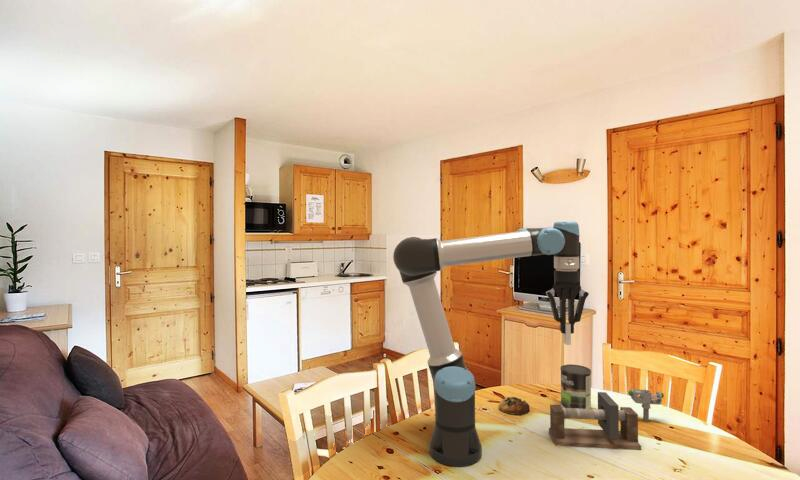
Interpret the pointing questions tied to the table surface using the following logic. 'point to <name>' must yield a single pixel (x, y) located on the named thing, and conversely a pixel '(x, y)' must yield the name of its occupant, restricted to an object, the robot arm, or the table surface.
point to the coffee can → (575, 387)
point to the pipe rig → (592, 436)
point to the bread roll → (514, 406)
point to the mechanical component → (646, 400)
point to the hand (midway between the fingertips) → (567, 343)
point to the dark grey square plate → (609, 415)
